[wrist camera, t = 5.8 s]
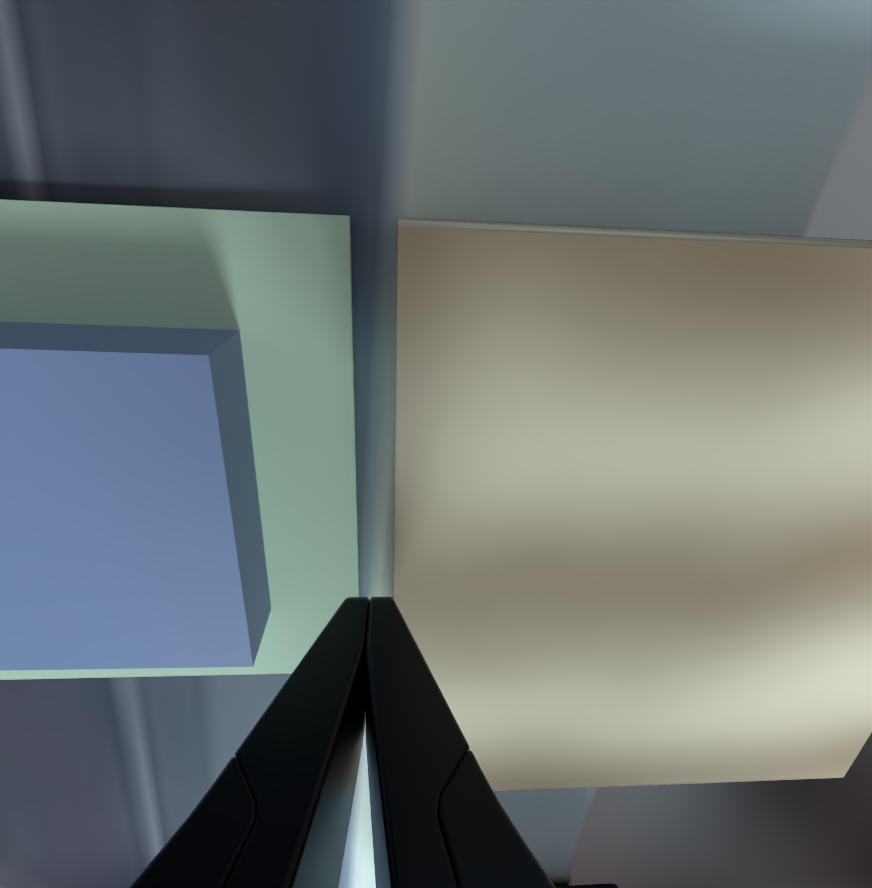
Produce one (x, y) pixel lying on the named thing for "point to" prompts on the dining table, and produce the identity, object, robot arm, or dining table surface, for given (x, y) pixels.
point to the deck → (637, 498)
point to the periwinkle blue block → (127, 500)
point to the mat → (264, 357)
